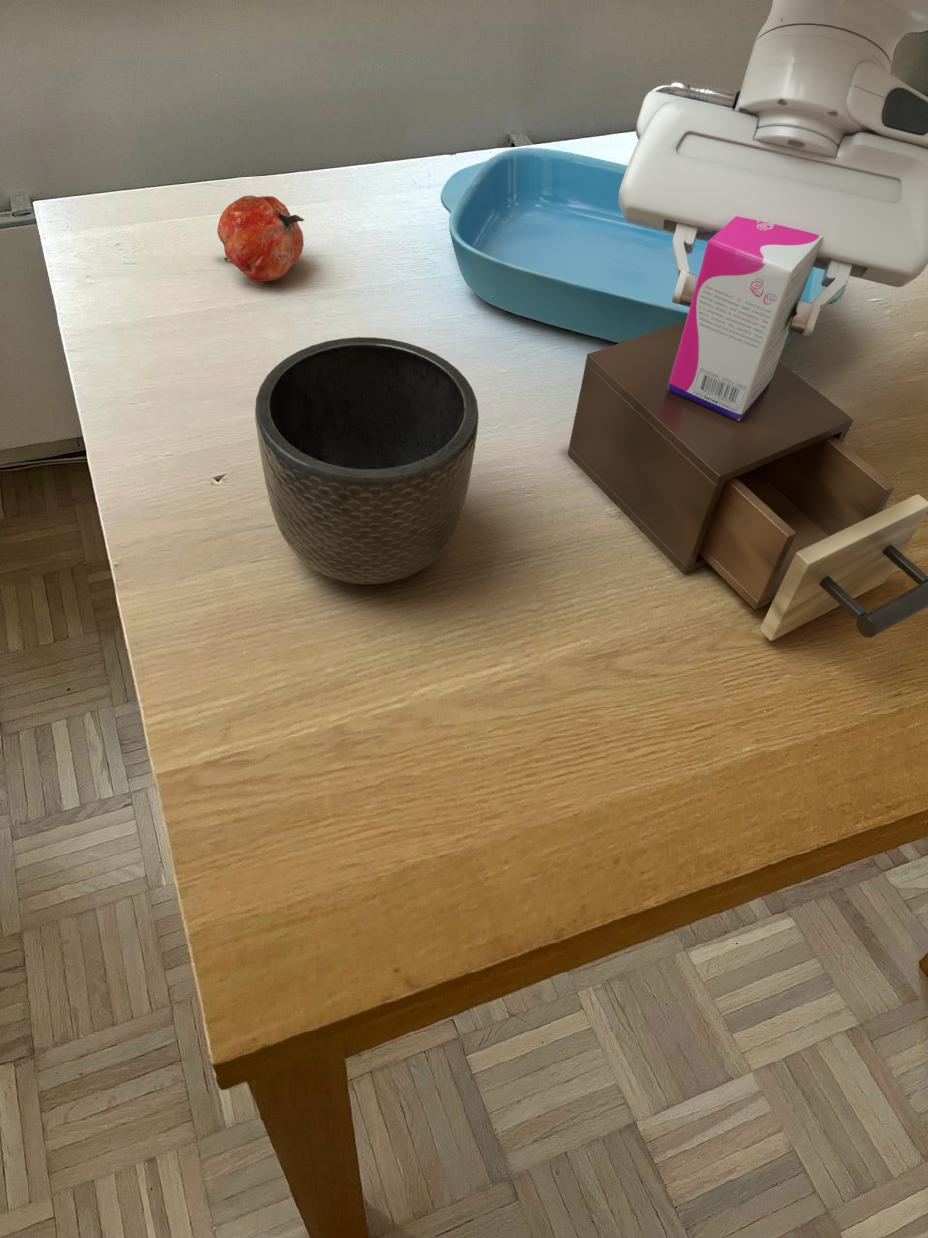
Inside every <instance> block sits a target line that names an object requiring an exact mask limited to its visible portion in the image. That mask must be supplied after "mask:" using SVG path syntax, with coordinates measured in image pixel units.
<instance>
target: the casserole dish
mask: <svg viewBox="0 0 928 1238" xmlns="http://www.w3.org/2000/svg"><path fill="white" fill-rule="evenodd" d="M627 166H628V165H626V164H622V163H618V162H614V161H609V160H604V159H601V158H596V157H592V156H588V155H582V154H578V153H573V152H569V151H564V150H563V151H562V150H558V149H557V150H556V149H551V148H542V147H518V148H512V149H508V150H504V151H502V152H499V153H497V154H495V155H493V156H492V157H490V158H489V159H487V160H485V161H482V162H479V163H475V164H472V165H470V166H466V167H464V168H461V169H459V170H458V171H456V172H454V173H453V174H452V175H451V176H450V177H449V178H448V179H447V181H446V182H445V183H444V185H443V187H442V190H441V192H440V202H441V204H442V206H443V208H444V209H445V210H446V211H447V212H448V214H450V215H449V219H448V229H449V235H450V238H451V243H452V248H453V251H454V255H455V257H456V258H455V259H456V262H457V265H458V268H459V271H460V275H461V276H462V278H463V280H464V282H465V284H466V285H467V287H468V288H469V289H470V290H472V292H473V293H474V294H476V296H478V297H479V298H480V299H482V300H483V301H484V302H486V303H488V304H490V305H491V306H494V307H496V308H499V309H501V310H503V311H506V312H508V313H511V314H513V315H517V316H521V317H524V318H526V319H530V320H533V321H537V322H540V323H544V324H546V325H550V326H555V327H557V328H561V329H565V330H568V331H572V332H576V333H579V334H583V335H586V336H589V337H590V336H591V337H594V338H598V339H602V340H607V341H610V342H612V343H616V344H619V343H622V342H625V341H628V340H631V339H634V338H637V337H640V336H643V335H646V334H649V333H651V332H654V331H657V330H660V329H663V328H666V327H669V326H672V325H675V324H678V323H681V322H684V321H686V320H687V316H688V312H689V309H690V307H688V306H684V305H680V304H676V303H672V300H673V295H674V291H675V288H676V285H677V281H678V278H679V277H678V275H677V271H676V267H675V262H674V258H673V254H672V240H673V237H674V234H673V233H669V232H665V231H661V230H657V229H652V228H648V227H644V226H640V225H636V224H632V223H629V222H627V221H626V220H625V218H624V216H623V214H622V212H621V209H620V207H619V190H620V187H621V183H622V180H623V177H624V174H625V172H626V169H627ZM707 244H708V242H706V241H702V240H698V239H696V241H695V244H694V248H693V251H692V253H690V254H688V253H686V255H687V259H688V264H689V268H690V273H692V274H696V275H699V273H700V269H701V266H702V262H703V258H704V254H705V250H706V247H707ZM824 272H825V270H823V269H819V268H814V267H812V270H811V273H810V276H809V278H808V281H807V283H806V286H805V289H804V292H803V295H802V297H801V301H806V302H810V303H812V301H813V300H815V299H816V298H817V297H818V296H819V295H820V294H821V293H822V292H823V291H824V290H825V289H826V288H827V287H824V286H822V285H821V282H822V278H823V275H824ZM846 287H847V284H846V285H845V286H844V287H843V289H842V290H841V291H840V292H839V293H838V294H837V295H836V296H835V297H834V298H833V299H832V300H831V301H830V302H829V303H828V304H827V305H826V306H829V305H831V304H834V303H836V302H837V301H839V300H840V299H841V298H842V297H843V295H844V293H845V291H846ZM795 335H796V333H793V332H789V333H788V336H787V338H786V341H785V344H784V347H783V349H784V348H785V347H786V346H787V345H788V344H789V342H791V340H792V339H793V337H794V336H795Z"/></svg>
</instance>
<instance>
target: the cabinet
mask: <svg viewBox="0 0 928 1238" xmlns="http://www.w3.org/2000/svg"><path fill="white" fill-rule="evenodd" d="M685 323H686V321H684V322H681V323H678V324H675V325H672V326H669V327H666V328H663V329H660V330H657V331H654V332H651V333H649V334H646V335H643V336H640V337H637V338H634V339H631V340H628V341H625V342H622V343H616V344H613V345H611V346H608V347H604V348H602V349H599V350H596V351H593V352H590V353H587V354H586V359H585V364H584V369H583V374H582V380H581V386H580V390H579V396H578V401H577V404H576V405H577V406H576V410H575V415H574V420H573V425H572V430H571V436H570V439H569V440H570V441H569V444H568V449H567V456H568V457H569V458H570V459H571V460H572V461H573V462H574V463H575V464H576V465H577V466H578V467H579V468H580V469H581V470H582V471H583V472H584V473H585V474H586V475H587V476H588V478H590V480H592V481H593V482H594V483H595V484H596V485H597V487H598V488H600V489H601V491H602V492H603V493H604V494H605V495H606V496H607V497H608V498H609V499H610V500H611V501H612V502H613V503H614V504H615V505H616V507H618V508H619V509H620V510H621V511H622V513H624V514H625V515H626V516H627V518H629V520H631V521H632V522H633V523H634V524H635V526H637V528H639V530H641V532H642V533H643V534H644V535H645V536H646V537H647V538H648V539H649V540H650V541H651V542H652V543H653V544H654V545H655V546H656V547H657V548H658V549H659V550H660V551H661V552H662V554H663V555H664V556H665V557H666V558H667V559H669V560H670V561H671V563H673V565H674V566H675V567H676V568H677V569H678V570H679V571H680V572H681V573H682V574H683V575H686V574H688V573H690V572H692V571H695V570H697V569H699V568H701V567H703V566H705V565H709V563H708V562H707V561H706V560H705V559H704V558H703V557H702V556H701V555H700V554H699V550H700V547H701V545H702V542H703V539H704V537H705V534H706V531H707V528H708V526H709V523H710V520H711V517H712V515H713V512H714V509H715V507H716V504H717V501H718V498H719V496H720V493H721V490H722V488H723V485H724V482H725V481H727V480H730V479H732V478H734V477H737V476H739V475H741V474H744V473H746V472H748V471H751V470H753V469H755V468H758V467H760V466H762V465H765V464H767V463H769V462H772V461H774V460H777V459H779V458H781V457H784V456H786V455H788V454H791V453H793V452H795V451H798V450H800V449H802V448H805V447H807V446H809V445H812V444H814V443H816V442H819V441H821V440H823V439H826V438H828V437H830V436H834V437H835V438H837V439H838V440H839V441H840V442H841V443H843V444H844V443H845V439H846V438H847V436H848V434H849V431H850V428H851V427H852V425H853V422H854V418H853V417H851V416H850V415H849V414H848V413H846V412H845V411H844V410H842V408H840V407H839V406H838V405H836V404H835V403H834V402H833V401H831V400H830V399H829V398H827V397H826V395H824V394H823V393H821V392H820V391H819V390H817V388H815V387H814V386H813V385H812V384H810V383H809V382H807V380H806V379H804V378H803V377H802V376H800V375H799V374H797V373H796V372H795V371H794V370H793V369H792V368H790V367H789V366H788V365H786V364H785V363H784V362H783V361H782V360H780V359H779V360H778V363H777V366H776V369H775V372H774V374H773V377H772V381H771V383H770V385H769V386H768V387H767V388H766V390H765V391H764V392H763V393H762V394H761V396H760V397H759V398H758V399H757V400H756V401H755V402H754V404H753V405H752V406H751V408H750V409H749V410H748V411H747V412H746V414H745V415H744V416H743V418H742V419H741V420H740V421H736V420H734V419H732V418H729V417H727V416H725V415H723V414H721V413H719V412H716V411H714V410H712V409H710V408H707V407H705V406H703V405H701V404H698V403H696V402H694V401H692V400H689V399H687V398H685V397H683V396H680V395H678V394H676V393H673V392H671V391H669V390H668V384H669V380H670V377H671V373H672V370H673V366H674V363H675V359H676V356H677V352H678V349H679V345H680V341H681V337H682V334H683V331H684V327H685Z"/></svg>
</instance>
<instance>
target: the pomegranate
mask: <svg viewBox="0 0 928 1238" xmlns="http://www.w3.org/2000/svg"><path fill="white" fill-rule="evenodd" d="M305 220H306V219H305V218H303V217H300V216H299V215H298V214H293V215H291V213H290V211H289V210H288V208H287V206H286V205H285V204H284V203H283V202H281V201H280V200H279V199H278V198H276V197H275V196H273V195H272V196H271V195H261V196H260V195H259V196H256V195H251V194H249V195H243V196H242V197H240V198H238V199H236V200H234V201H233V202H232V203H230V204H228V205H227V206H226V208H225V209H224V210H223V211H222V213H221V215H220V218H219V220H218V225H217V230H216V232H217V236H218V238H219V240H220V242H221V243H222V244H223V248H224V249H223V251H224V254H225V257H224V258H223V260H224V262H227V261H228V260H229V262H231V263H232V264H233V266H235V267H236V268H237V269H238V270H239V271H240V272H242V273H243V274H244V275H245V276H246V278H247V279H248V280H251V281H255V282H270V281H276V280H278V279H280V278H282V277H284V276H285V275H286V274H287V273H288V272H289V271H290V269H291V268H292V267H293V266H294V265H295V264H297V262H298V261H299V260H300V257H301V255H302V254H303V249H304V246H305V245H304V234H303V230H302V229H301V227H300V225H299V222H303V221H305Z"/></svg>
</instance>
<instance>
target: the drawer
mask: <svg viewBox="0 0 928 1238" xmlns="http://www.w3.org/2000/svg"><path fill="white" fill-rule="evenodd" d="M895 487H896V486H895V485H894V484H893V483H892V482H890V481H889V480H888V479H887V478H885V477H884V475H882V474H880V473H879V472H878V471H877V470H876V469H874V468H873V467H872V466H871V465H870V464H869V463H867V462H866V461H864V460H863V459H862V458H861V457H860V456H859V455H857V454H856V453H855V452H854V451H852V450H851V449H850V448H849V447H848V446H846V444H844V442H843V443H841V442H840V441H839V440H838V439H837V438H835V437H834V436H830V437H828V438H826V439H823V440H821V441H819V442H816V443H814V444H812V445H809V446H807V447H805V448H802V449H800V450H798V451H795V452H793V453H791V454H788V455H786V456H784V457H781V458H779V459H777V460H774V461H772V462H769V463H767V464H765V465H762V466H760V467H758V468H755V469H753V470H751V471H748V472H746V473H744V474H741V475H739V476H737V477H734V478H732V479H730V480H727V481H725V482H724V485H723V488H722V490H721V493H720V496H719V498H718V501H717V504H716V507H715V509H714V512H713V515H712V517H711V520H710V523H709V526H708V528H707V531H706V534H705V537H704V539H703V542H702V545H701V547H700V550H699V554H700V555H701V556H702V557H703V558H704V559H705V560H706V561H707V562H708V565H709V566H710V567H712V568H713V570H715V571H716V572H717V574H718V575H719V576H721V577H722V579H723V580H725V581H726V582H727V583H728V585H730V587H732V588H733V589H734V590H735V591H736V593H738V595H739V596H740V597H742V599H744V601H746V603H747V604H749V606H751V608H753V610H758V609H760V608H761V607H763V606H765V605H766V606H767V604H770V603H771V604H770V607H769V609H768V611H767V613H766V615H765V617H764V619H763V621H762V623H761V625H760V628H759V631H760V632H761V633H762V634H763V635H764V636H765V637H766V638H767V639H768V640H769V641H770V642H773V641H775V640H776V639H778V638H780V637H782V636H785V635H786V634H788V633H789V632H792V631H793V630H795V629H798V628H800V627H801V626H803V625H806V624H807V623H809V622H811V621H813V620H816V619H817V618H818V617H820V616H823V615H824V614H826V613H828V612H830V611H832V610H834V609H836V608H837V607H839V606H841V607H842V608H843V609H844V610H845V611H846V612H848V614H849V615H850V616H852V618H853V619H855V620H856V622H855V626H856V629H857V631H858V633H859V634H860V635H861V636H863V637H864V638H866V639H871V638H873V637H875V636H877V635H880V634H881V633H883V632H885V631H886V630H888V629H890V628H892V627H894V626H895V625H897V624H899V623H901V622H903V621H904V620H907V619H909V618H910V617H913V616H915V614H918V613H920V612H922V611H923V610H925V609H927V608H928V575H927V574H926V573H925V572H924V571H923V570H921V569H920V567H918V566H917V565H916V564H914V563H913V561H911V560H910V559H909V558H907V556H905V555H904V554H903V553H904V551H905V550H906V548H907V547H908V544H909V543H910V541H911V540H912V539H913V536H914V534H915V533H916V531H917V530H918V528H919V526H920V525H921V523H922V521H923V519H924V518H925V516H926V514H927V513H928V500H927V499H925V498H924V497H923V496H921V494H919V493H917V494H915V495H913V496H910V497H908V498H907V499H904V500H902V501H899V502H898V503H896V504H894V505H892V506H890V507H888V508H885V507H886V505H887V503H888V501H889V499H890V497H891V495H892V494H893V492H894V490H895ZM896 566H897V568H898V569H900V570H901V571H902V572H903V573H904V574H906V575H907V576H908V577H909V578H910V579H911V580H913V581H914V582H915V583H916V584H917V585H916V586H915V587H913V588H910V589H908V590H906V591H904V592H903V593H900V594H899V595H898V596H896V597H894V598H892V599H890V600H888V601H886V602H884V603H882V604H880V605H879V606H877V607H875V608H873V609H871V610H869V611H867V610H866V609H865V608H864V607H863V606H862V605H860V603H858V602H857V601H856V600H855V598H857V597H859V596H861V595H863V594H864V593H866V592H868V591H871V590H873V589H874V588H876V587H878V586H880V585H882V584H884V583H886V582H887V580H888V579H889V576H890V575H891V573H892V572H893V570H894V568H895V567H896Z"/></svg>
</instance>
